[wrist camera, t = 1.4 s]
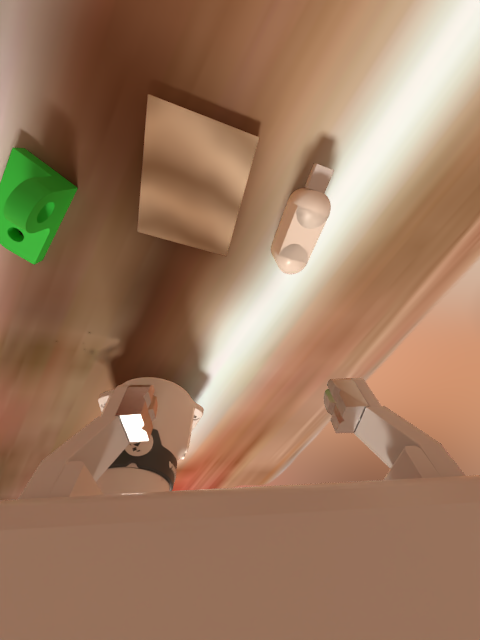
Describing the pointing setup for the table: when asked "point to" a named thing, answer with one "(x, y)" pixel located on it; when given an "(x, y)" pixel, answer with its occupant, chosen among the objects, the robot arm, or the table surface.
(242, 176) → the birch board
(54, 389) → the table surface
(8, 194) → the mechanical part
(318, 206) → the connector
